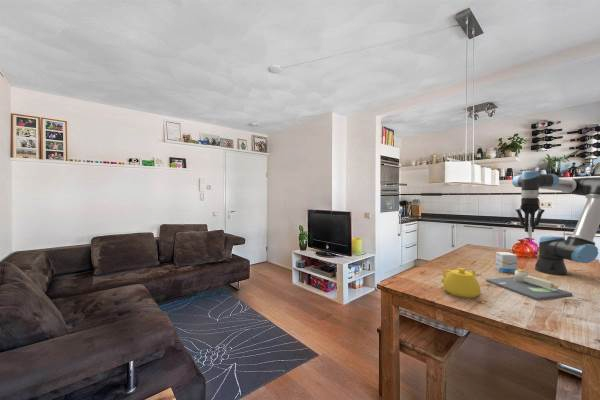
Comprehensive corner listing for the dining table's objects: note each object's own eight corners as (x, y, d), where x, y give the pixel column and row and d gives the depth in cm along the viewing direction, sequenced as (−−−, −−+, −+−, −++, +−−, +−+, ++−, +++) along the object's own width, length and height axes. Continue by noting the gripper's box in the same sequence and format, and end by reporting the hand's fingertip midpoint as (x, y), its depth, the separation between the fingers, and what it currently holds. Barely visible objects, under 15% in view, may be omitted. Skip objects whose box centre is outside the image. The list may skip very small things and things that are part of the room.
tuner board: (518, 278, 155) (518, 275, 155) (572, 295, 130) (572, 292, 130) (486, 281, 149) (486, 278, 149) (536, 300, 124) (536, 297, 124)
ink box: (517, 273, 164) (517, 255, 164) (502, 272, 166) (502, 254, 165) (509, 269, 173) (509, 252, 172) (494, 268, 174) (495, 251, 174)
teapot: (468, 302, 123) (469, 275, 122) (432, 288, 139) (432, 265, 139) (490, 293, 132) (491, 269, 132) (454, 282, 149) (454, 260, 148)
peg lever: (512, 279, 148) (512, 269, 148) (518, 278, 149) (518, 268, 149) (554, 292, 130) (554, 280, 129) (560, 290, 131) (560, 279, 131)
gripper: (517, 197, 148) (517, 238, 149) (547, 197, 143) (546, 239, 144) (513, 197, 155) (513, 235, 156) (541, 197, 149) (540, 237, 151)
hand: (529, 237), depth 150 cm, fingers closed
